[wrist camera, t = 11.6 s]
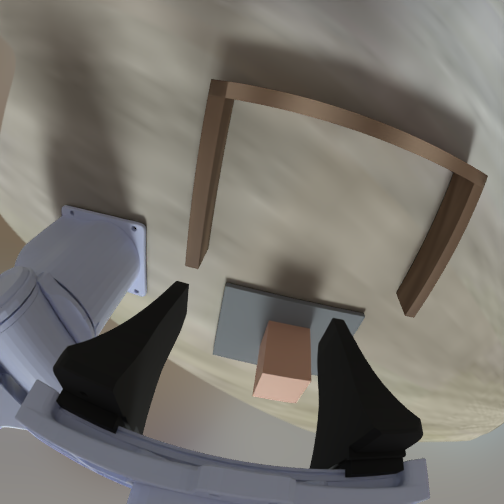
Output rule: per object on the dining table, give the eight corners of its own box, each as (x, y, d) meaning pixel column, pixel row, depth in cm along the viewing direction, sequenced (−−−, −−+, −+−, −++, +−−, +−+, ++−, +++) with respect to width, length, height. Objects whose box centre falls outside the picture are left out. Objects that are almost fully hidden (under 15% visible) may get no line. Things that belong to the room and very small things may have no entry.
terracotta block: (259, 346, 28) (252, 396, 23) (268, 320, 26) (262, 373, 21) (297, 353, 28) (295, 403, 23) (310, 328, 26) (311, 381, 21)
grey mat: (213, 350, 30) (212, 354, 30) (226, 282, 25) (225, 286, 24) (325, 373, 30) (325, 376, 30) (364, 313, 25) (364, 317, 24)
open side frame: (196, 245, 23) (185, 265, 21) (222, 81, 16) (211, 79, 14) (404, 295, 23) (413, 317, 21) (467, 164, 16) (487, 175, 14)
